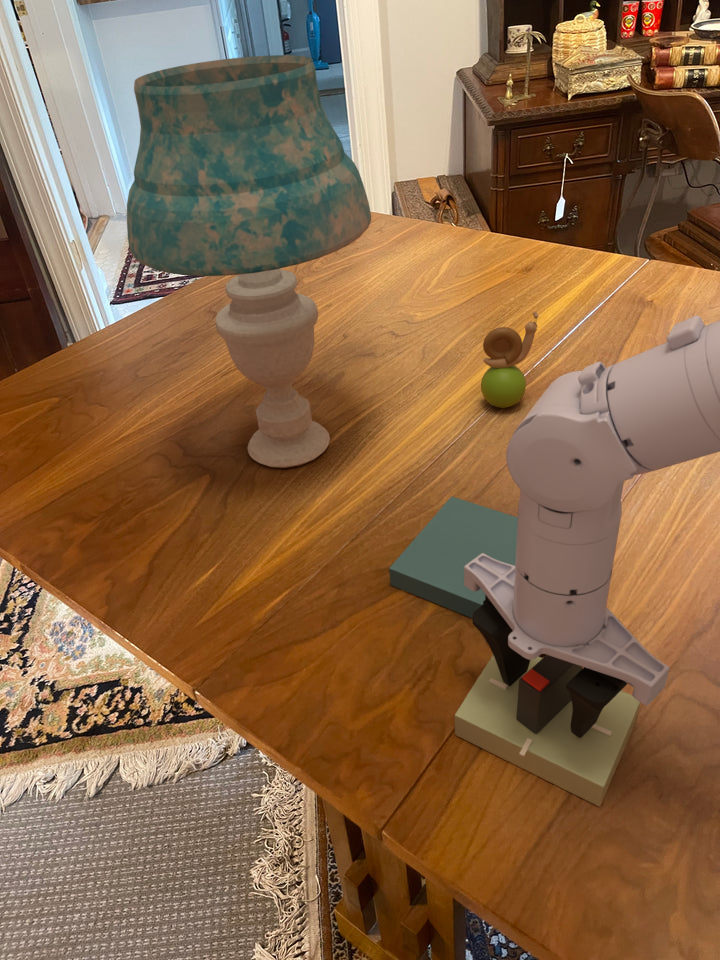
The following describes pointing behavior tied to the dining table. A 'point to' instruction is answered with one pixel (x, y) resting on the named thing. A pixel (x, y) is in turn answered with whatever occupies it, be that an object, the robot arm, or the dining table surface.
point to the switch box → (454, 554)
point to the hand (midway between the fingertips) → (548, 700)
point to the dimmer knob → (544, 692)
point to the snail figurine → (506, 364)
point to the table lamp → (248, 216)
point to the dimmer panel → (547, 736)
